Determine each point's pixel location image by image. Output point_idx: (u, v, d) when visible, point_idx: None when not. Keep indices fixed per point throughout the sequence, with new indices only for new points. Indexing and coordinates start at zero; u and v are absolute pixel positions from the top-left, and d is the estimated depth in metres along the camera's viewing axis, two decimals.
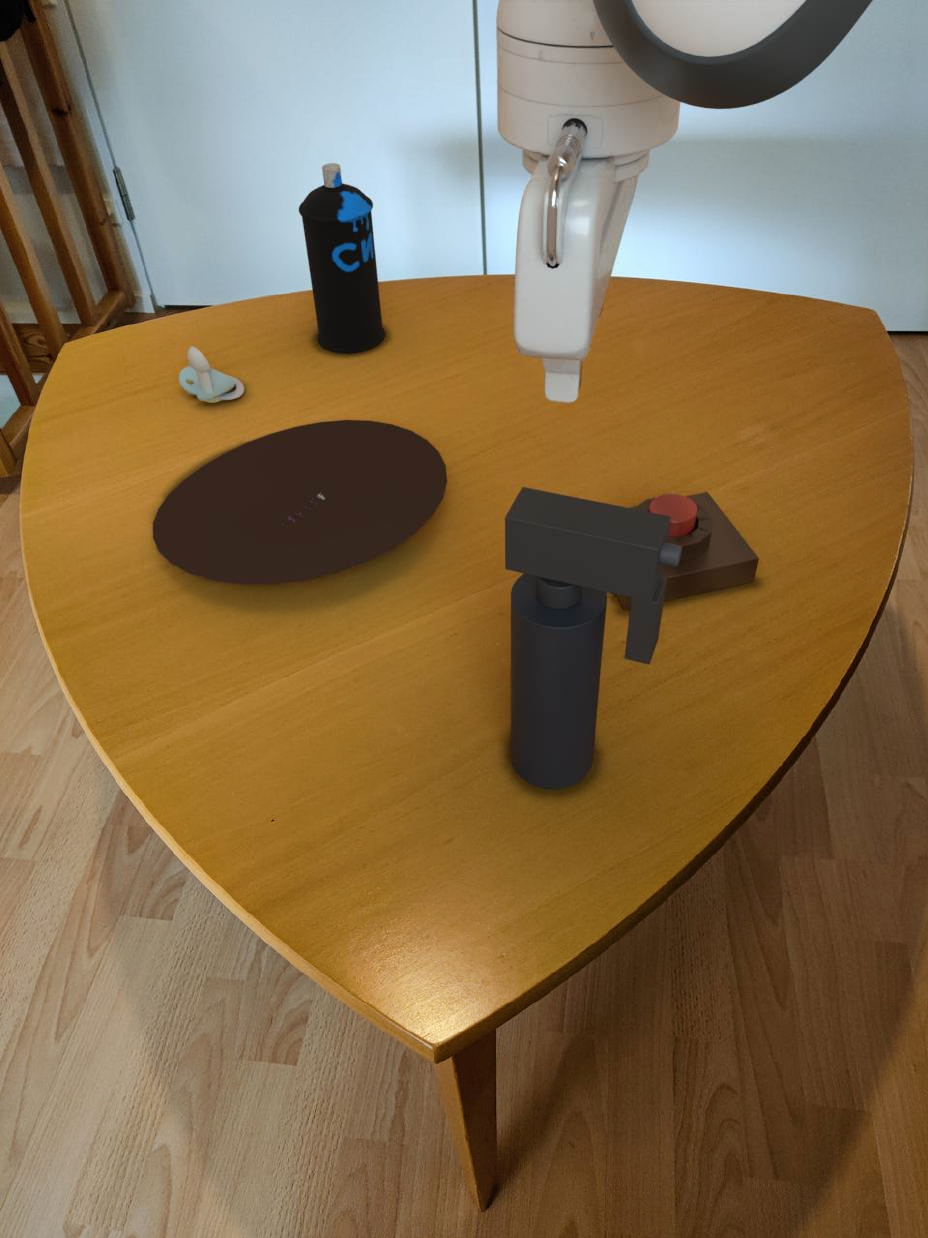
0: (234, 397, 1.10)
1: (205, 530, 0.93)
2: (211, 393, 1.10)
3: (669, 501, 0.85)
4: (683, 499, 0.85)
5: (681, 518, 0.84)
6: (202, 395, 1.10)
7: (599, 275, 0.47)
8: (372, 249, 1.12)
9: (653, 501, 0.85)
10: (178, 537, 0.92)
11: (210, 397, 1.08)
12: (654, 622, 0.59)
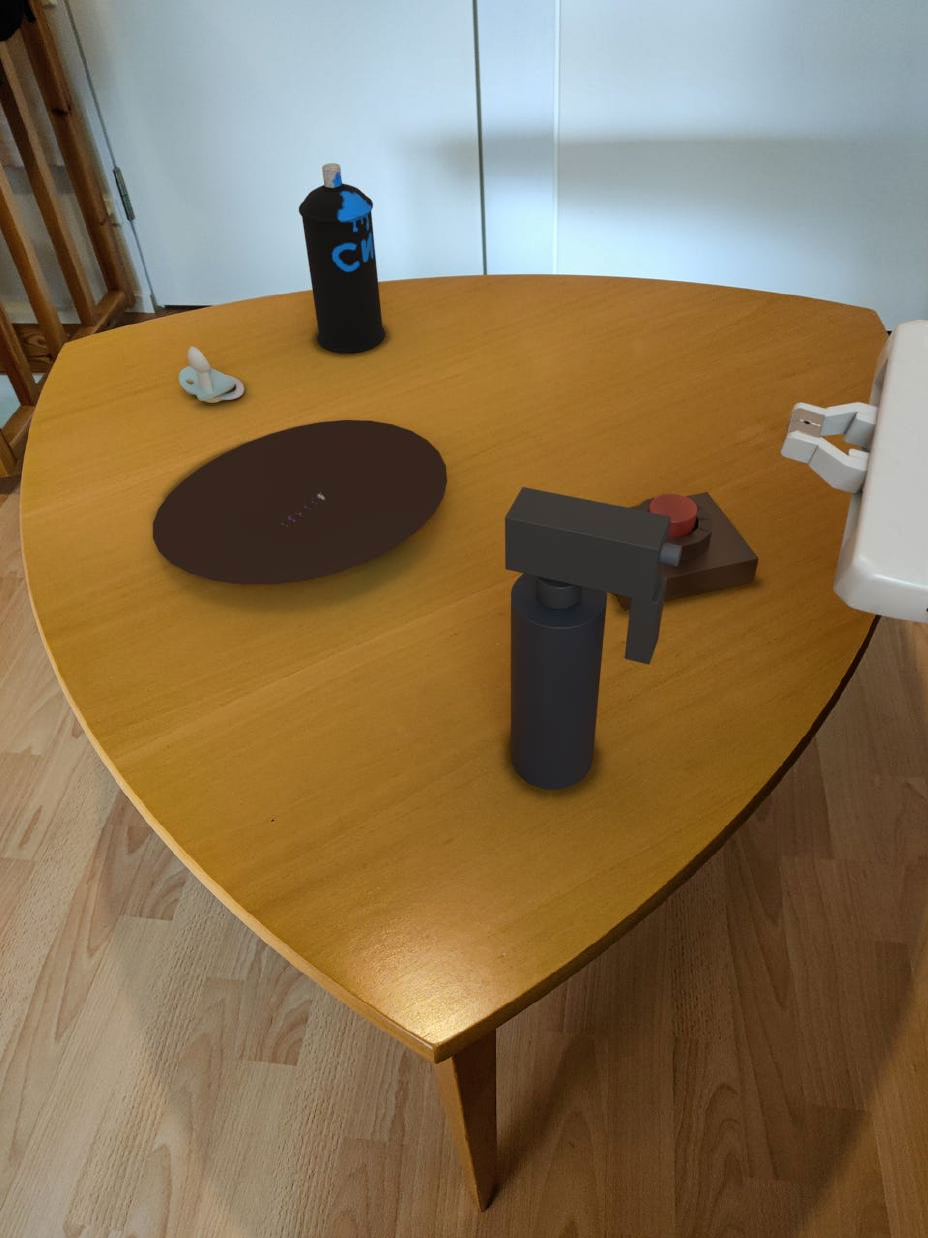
0: (234, 397, 1.10)
1: (205, 530, 0.93)
2: (211, 393, 1.10)
3: (669, 501, 0.85)
4: (683, 499, 0.85)
5: (681, 518, 0.84)
6: (202, 395, 1.10)
7: None
8: (372, 249, 1.12)
9: (653, 501, 0.85)
10: (178, 537, 0.92)
11: (210, 397, 1.08)
12: (654, 622, 0.59)
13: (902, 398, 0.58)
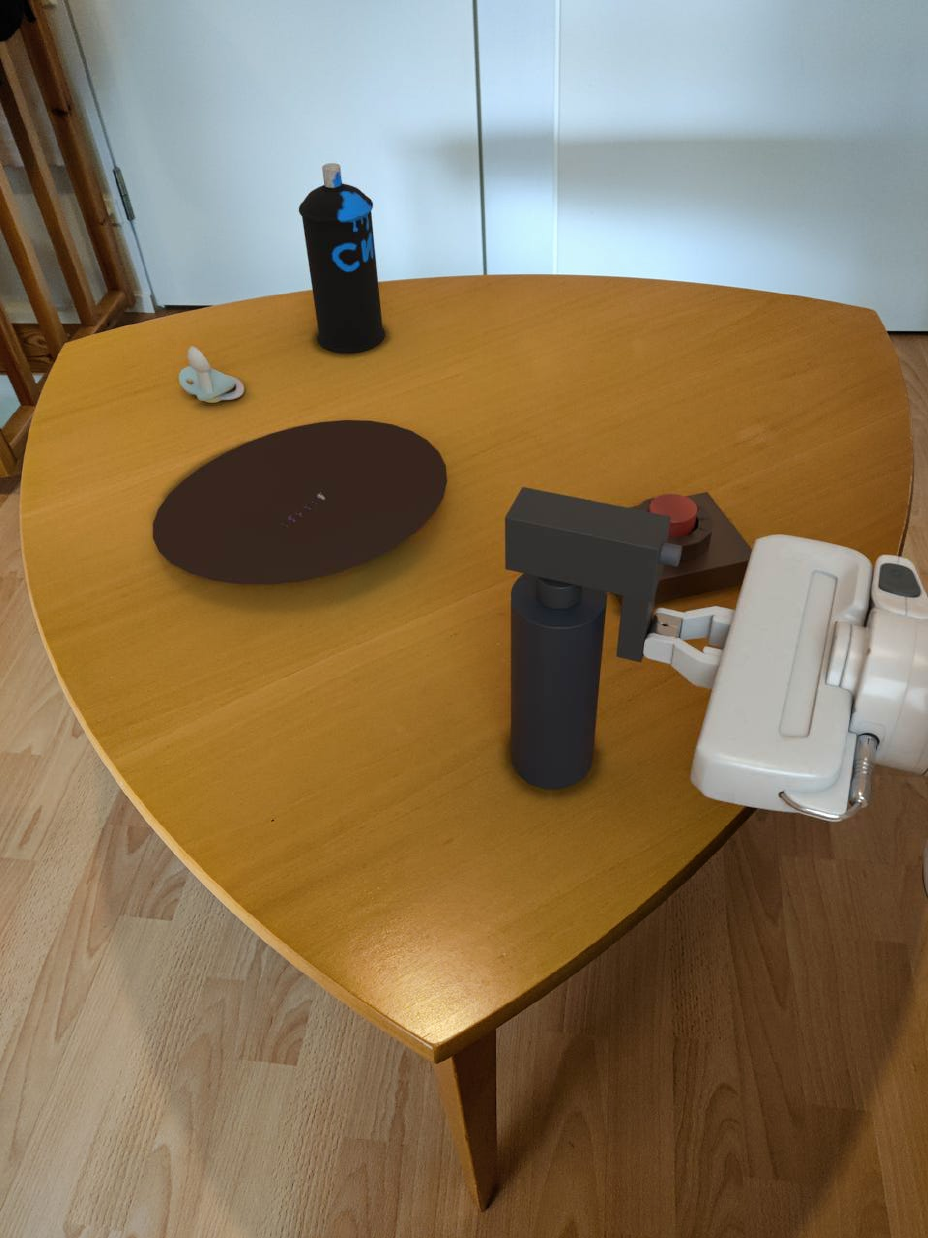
0: (234, 397, 1.10)
1: (205, 530, 0.93)
2: (211, 393, 1.10)
3: (669, 501, 0.85)
4: (683, 499, 0.85)
5: (681, 518, 0.84)
6: (202, 395, 1.10)
7: None
8: (372, 249, 1.12)
9: (653, 501, 0.85)
10: (178, 537, 0.92)
11: (210, 397, 1.08)
12: (645, 620, 0.59)
13: (755, 600, 0.61)
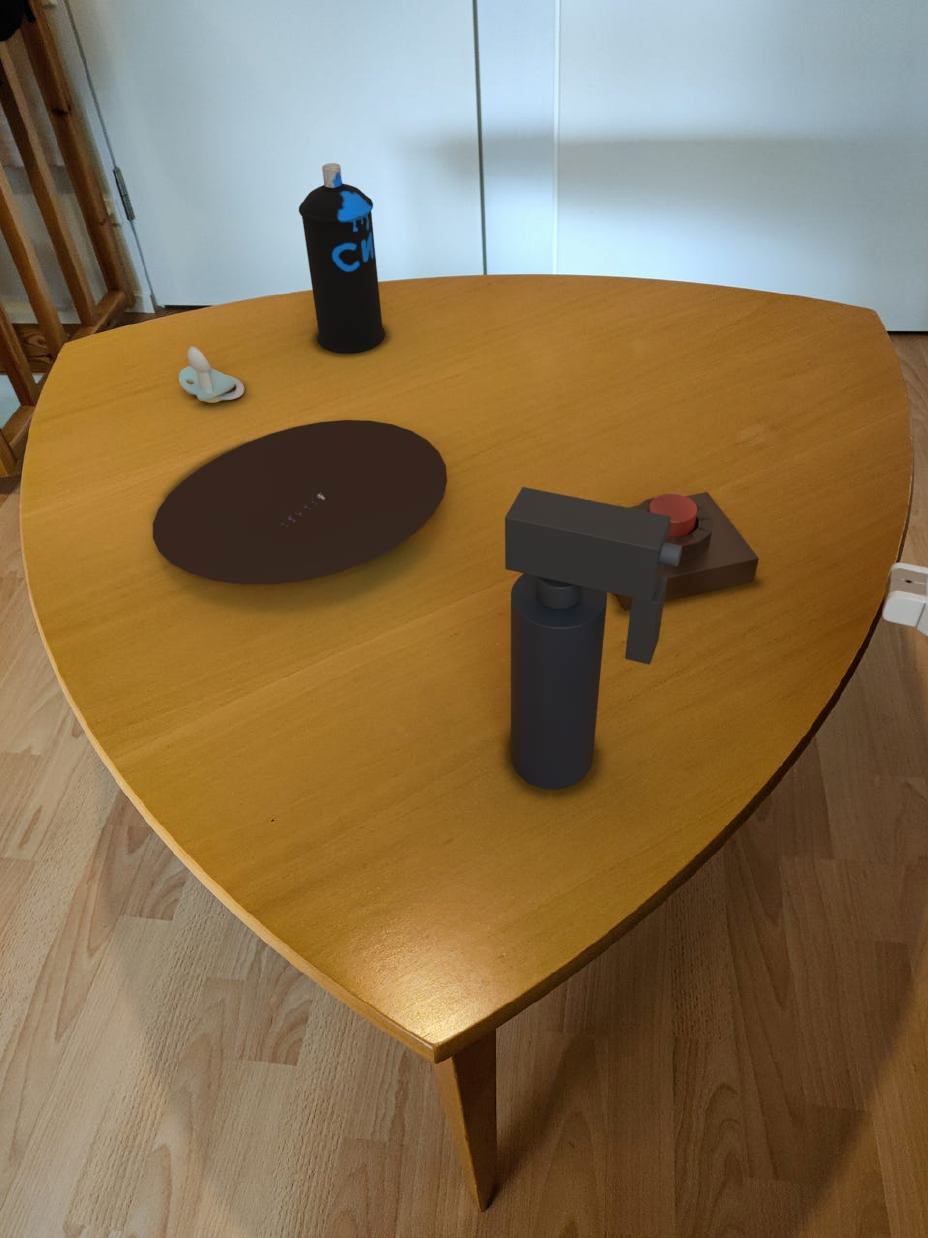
0: (234, 397, 1.10)
1: (205, 530, 0.93)
2: (211, 393, 1.10)
3: (669, 501, 0.85)
4: (683, 499, 0.85)
5: (681, 518, 0.84)
6: (202, 395, 1.10)
7: None
8: (372, 249, 1.12)
9: (653, 501, 0.85)
10: (178, 537, 0.92)
11: (210, 397, 1.08)
12: (654, 622, 0.59)
13: None
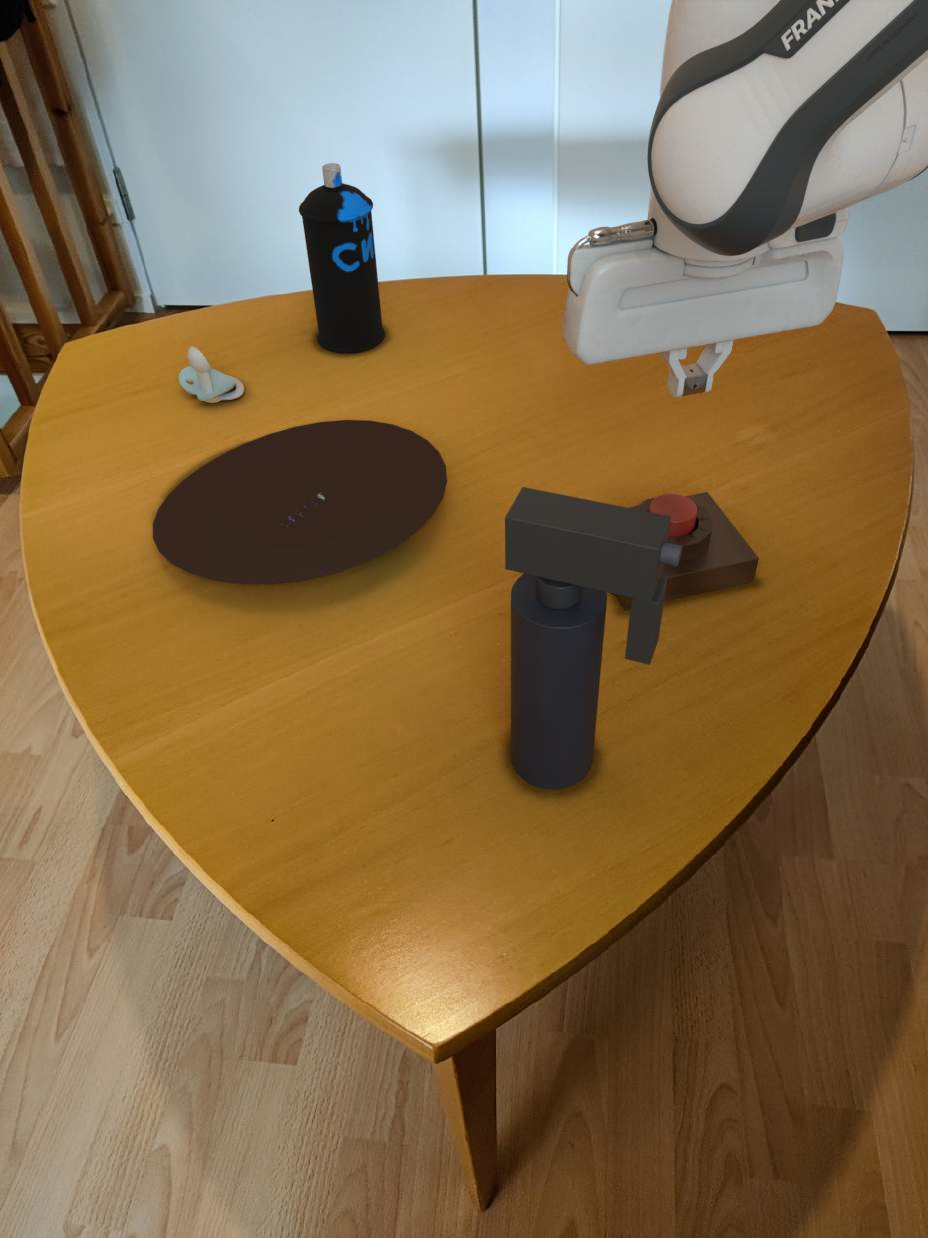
0: (234, 397, 1.10)
1: (205, 530, 0.93)
2: (211, 393, 1.10)
3: (669, 501, 0.85)
4: (683, 499, 0.85)
5: (681, 518, 0.84)
6: (202, 395, 1.10)
7: (623, 321, 0.69)
8: (372, 249, 1.12)
9: (653, 501, 0.85)
10: (178, 537, 0.92)
11: (210, 397, 1.08)
12: (654, 622, 0.59)
13: None
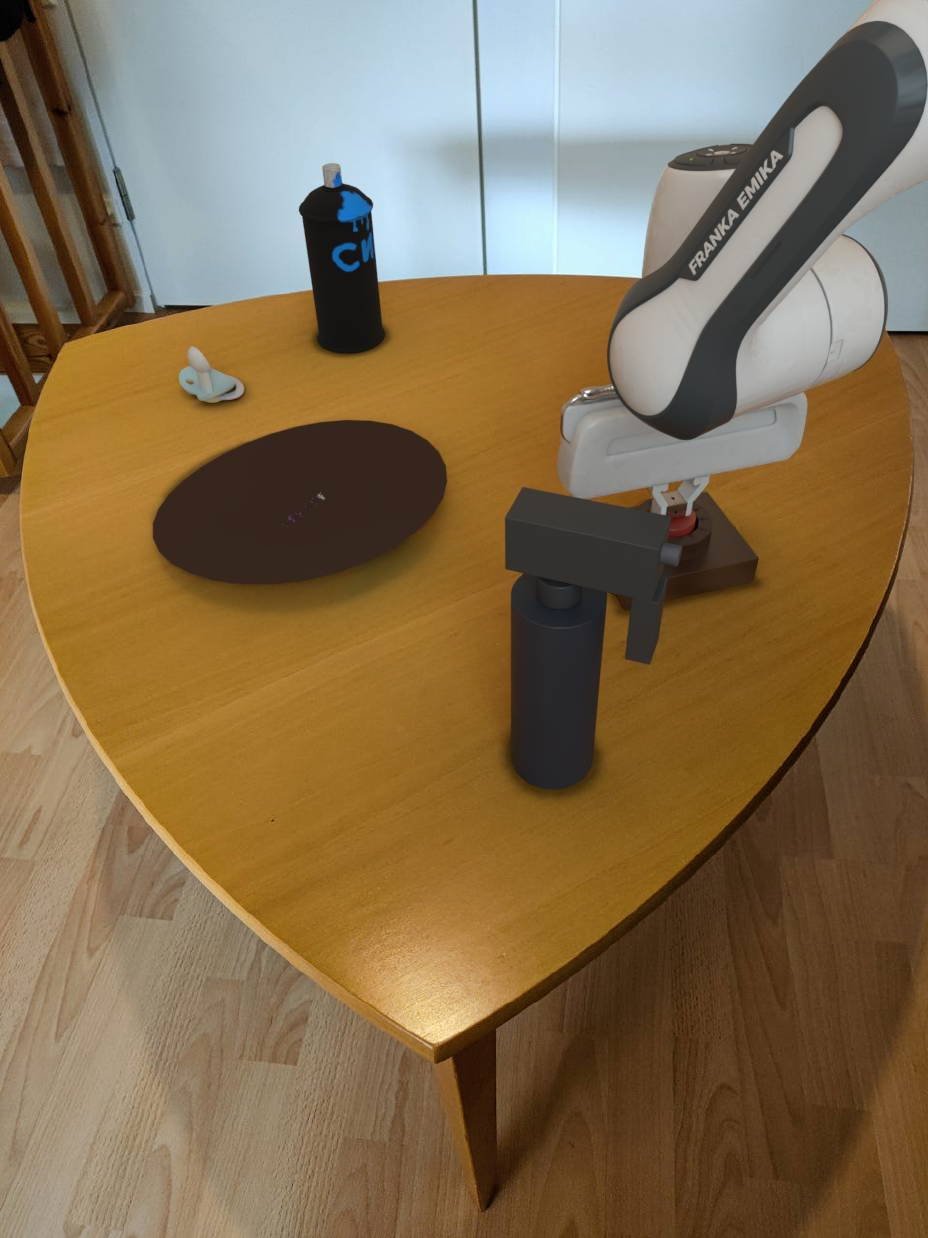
0: (234, 397, 1.10)
1: (205, 530, 0.93)
2: (211, 393, 1.10)
3: None
4: None
5: (680, 525, 0.84)
6: (202, 395, 1.10)
7: (611, 465, 0.77)
8: (372, 249, 1.12)
9: None
10: (178, 537, 0.92)
11: (210, 397, 1.08)
12: (654, 622, 0.59)
13: None
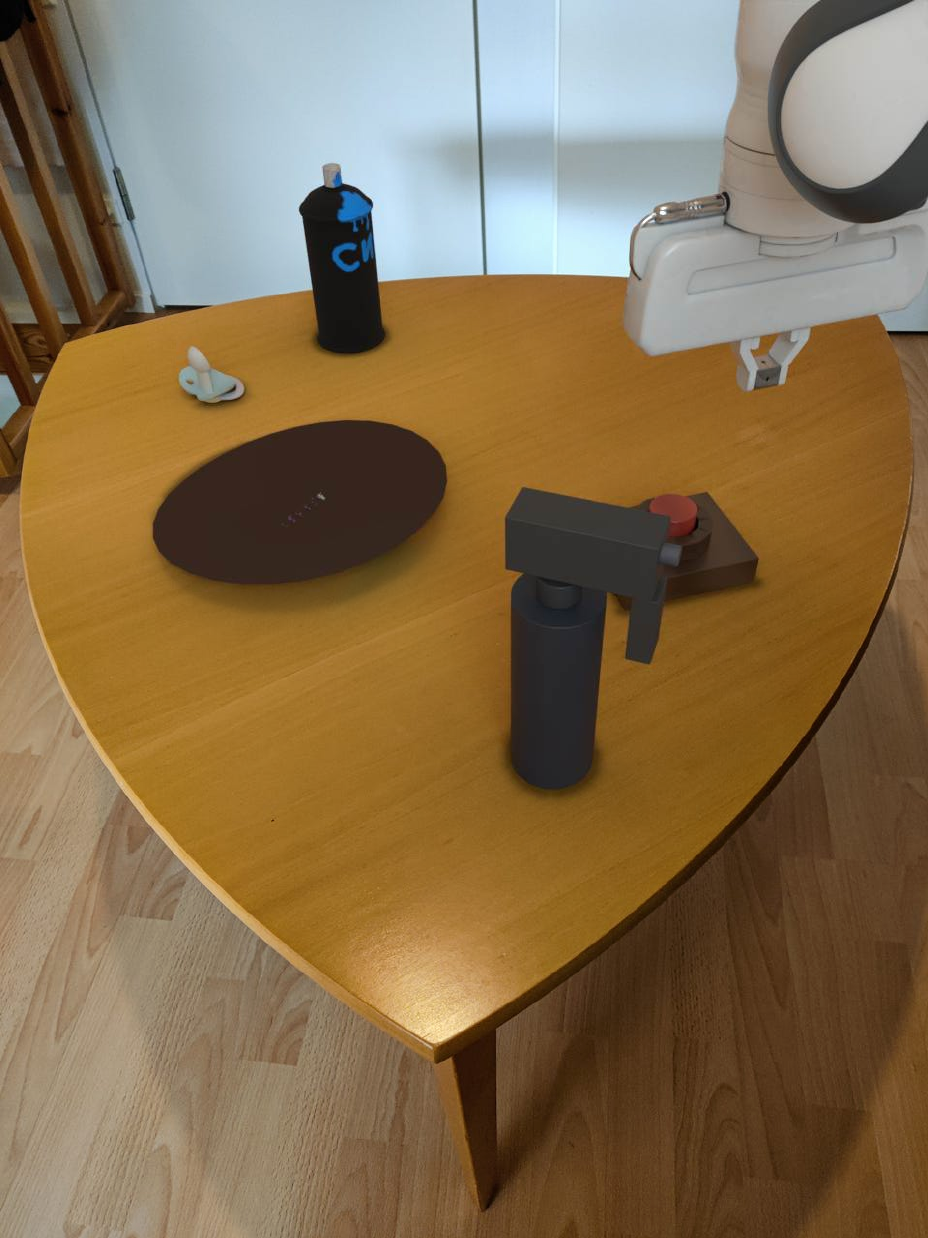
0: (234, 397, 1.10)
1: (205, 530, 0.93)
2: (211, 393, 1.10)
3: (669, 501, 0.85)
4: (683, 499, 0.85)
5: (681, 518, 0.84)
6: (202, 395, 1.10)
7: (692, 307, 0.63)
8: (372, 249, 1.12)
9: (653, 501, 0.85)
10: (178, 537, 0.92)
11: (210, 397, 1.08)
12: (654, 622, 0.59)
13: None
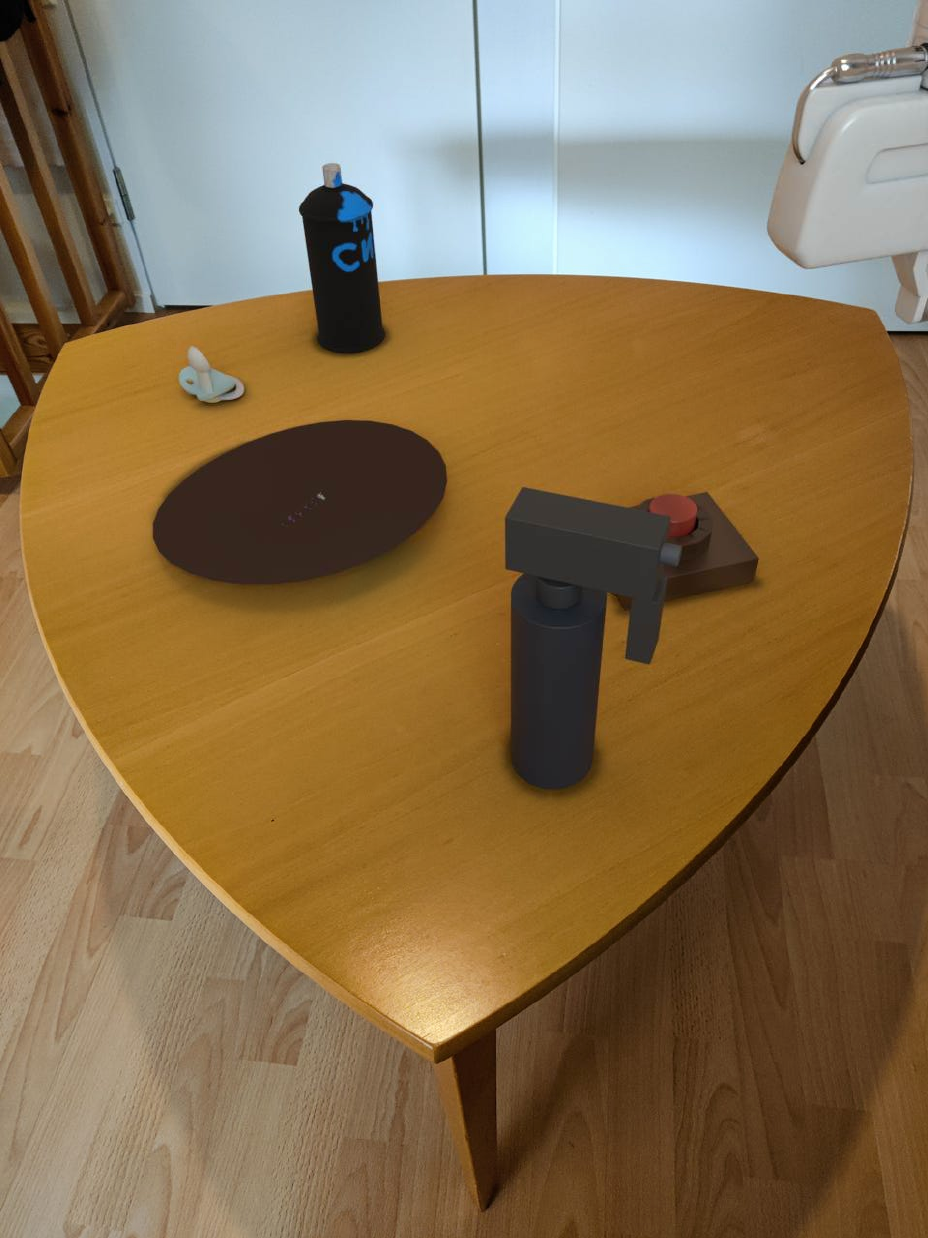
0: (234, 397, 1.10)
1: (205, 530, 0.93)
2: (211, 393, 1.10)
3: (669, 501, 0.85)
4: (683, 499, 0.85)
5: (681, 518, 0.84)
6: (202, 395, 1.10)
7: (869, 202, 0.48)
8: (372, 249, 1.12)
9: (653, 501, 0.85)
10: (178, 537, 0.92)
11: (210, 397, 1.08)
12: (654, 622, 0.59)
13: None
